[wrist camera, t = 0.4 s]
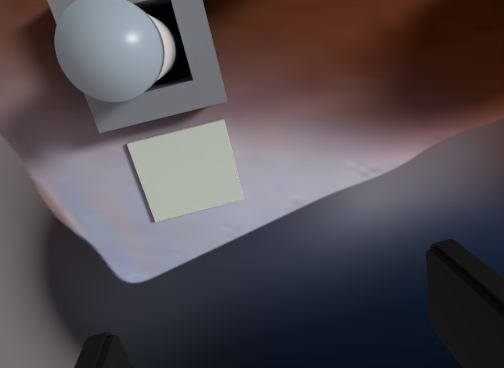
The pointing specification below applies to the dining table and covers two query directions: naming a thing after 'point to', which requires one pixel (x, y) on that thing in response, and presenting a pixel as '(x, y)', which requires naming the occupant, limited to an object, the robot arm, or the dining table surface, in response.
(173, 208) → the mat
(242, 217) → the dining table surface
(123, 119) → the grey square holder
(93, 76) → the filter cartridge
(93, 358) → the robot arm
